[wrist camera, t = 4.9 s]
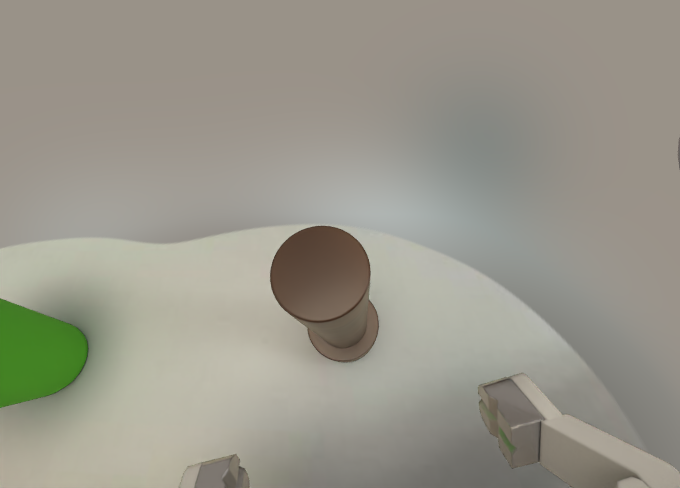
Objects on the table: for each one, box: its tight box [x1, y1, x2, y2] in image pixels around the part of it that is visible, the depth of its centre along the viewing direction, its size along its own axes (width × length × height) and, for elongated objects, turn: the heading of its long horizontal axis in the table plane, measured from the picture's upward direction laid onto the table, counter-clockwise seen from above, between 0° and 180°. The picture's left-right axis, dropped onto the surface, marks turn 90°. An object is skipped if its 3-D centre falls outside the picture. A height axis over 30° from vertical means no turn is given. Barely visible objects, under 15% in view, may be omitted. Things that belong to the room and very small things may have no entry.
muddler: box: [270, 226, 379, 362], centre depth 17 cm, size 5×5×15 cm
